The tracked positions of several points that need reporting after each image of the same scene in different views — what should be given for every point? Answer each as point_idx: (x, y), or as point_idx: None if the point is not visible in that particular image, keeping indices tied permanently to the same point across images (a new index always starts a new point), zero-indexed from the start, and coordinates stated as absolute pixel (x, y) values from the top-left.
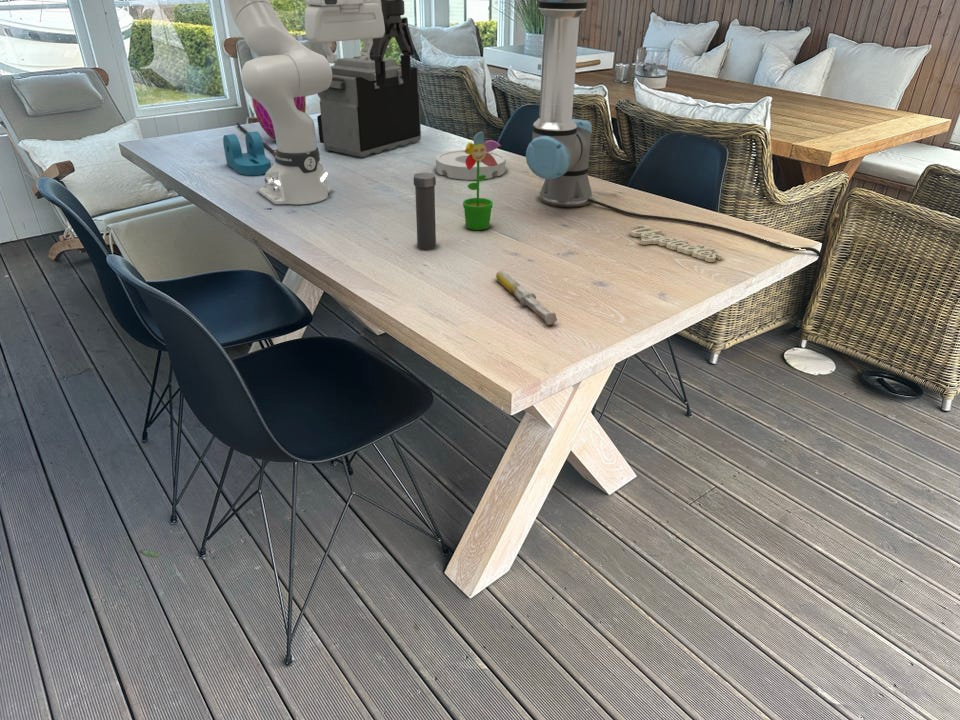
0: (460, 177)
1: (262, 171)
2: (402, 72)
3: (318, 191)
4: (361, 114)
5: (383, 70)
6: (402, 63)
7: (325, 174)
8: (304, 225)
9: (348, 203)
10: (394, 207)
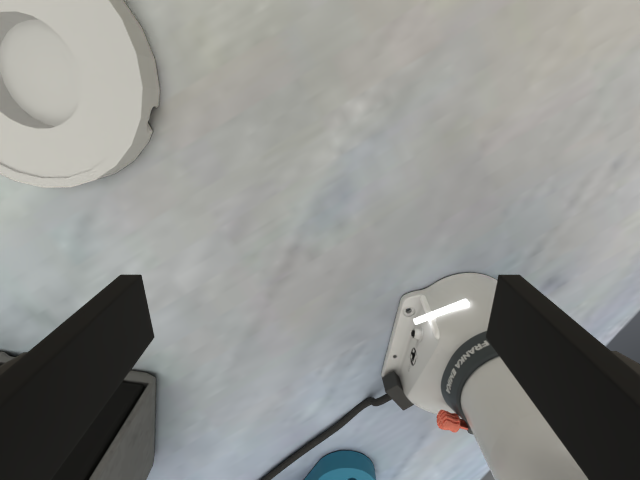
0: (151, 56)
1: (357, 456)
2: (126, 364)
3: (483, 287)
4: (81, 463)
5: (610, 356)
6: (77, 424)
7: (433, 315)
8: (630, 214)
9: (465, 217)
10: (458, 101)
